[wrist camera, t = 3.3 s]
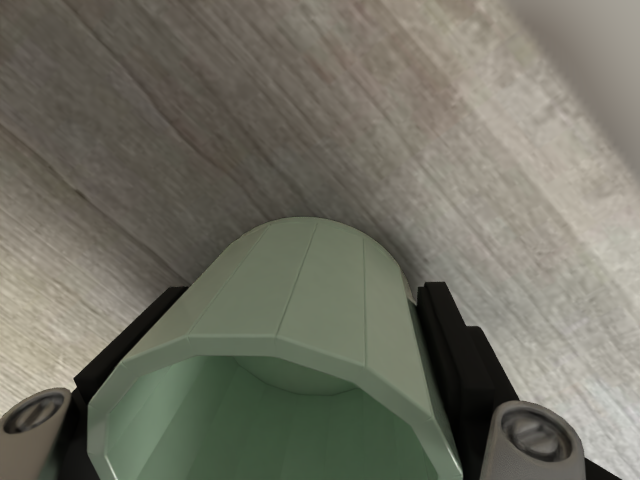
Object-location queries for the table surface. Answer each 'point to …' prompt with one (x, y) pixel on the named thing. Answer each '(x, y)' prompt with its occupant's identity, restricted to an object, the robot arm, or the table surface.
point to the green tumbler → (280, 371)
